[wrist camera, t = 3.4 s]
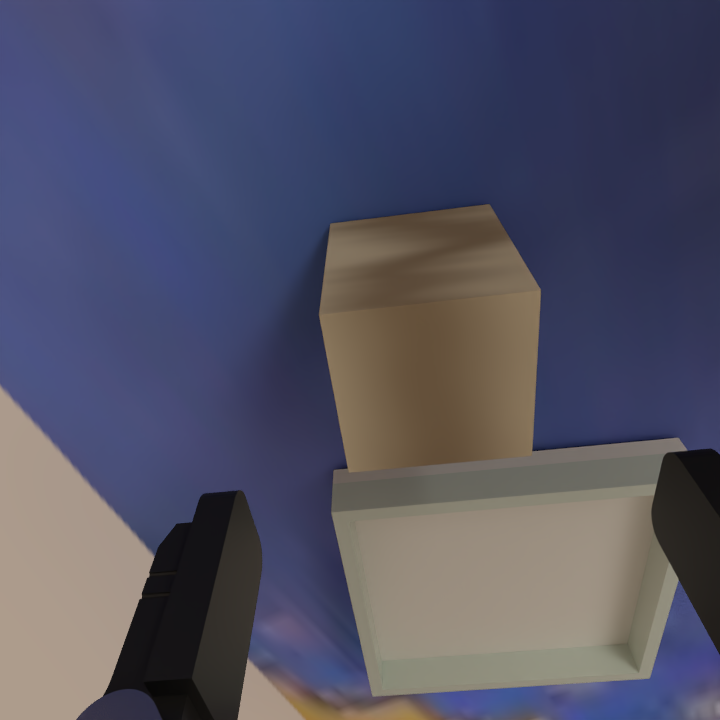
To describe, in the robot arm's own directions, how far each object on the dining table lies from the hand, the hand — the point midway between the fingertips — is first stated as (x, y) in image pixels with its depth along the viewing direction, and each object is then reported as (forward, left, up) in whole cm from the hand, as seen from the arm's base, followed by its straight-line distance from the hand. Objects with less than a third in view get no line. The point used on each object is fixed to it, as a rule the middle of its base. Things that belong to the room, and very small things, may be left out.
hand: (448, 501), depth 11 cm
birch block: (0, 0, -10) cm, 10 cm away
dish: (-3, +15, -10) cm, 18 cm away
